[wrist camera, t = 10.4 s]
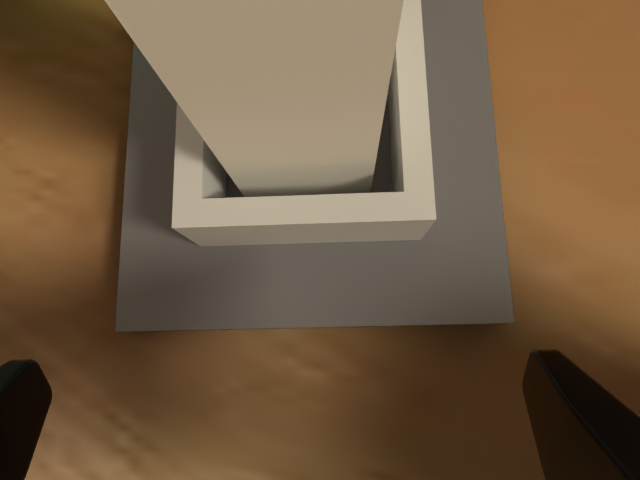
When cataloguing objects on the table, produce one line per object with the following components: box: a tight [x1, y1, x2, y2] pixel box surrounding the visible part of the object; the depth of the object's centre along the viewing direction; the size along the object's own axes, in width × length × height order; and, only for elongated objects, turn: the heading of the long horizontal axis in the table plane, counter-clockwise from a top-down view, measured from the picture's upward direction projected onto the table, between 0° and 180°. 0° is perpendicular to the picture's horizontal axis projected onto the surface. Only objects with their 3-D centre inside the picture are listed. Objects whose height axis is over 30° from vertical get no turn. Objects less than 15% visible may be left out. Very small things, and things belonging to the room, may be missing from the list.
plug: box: [105, 0, 404, 197], centre depth 12 cm, size 5×5×13 cm
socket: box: [115, 0, 515, 332], centre depth 17 cm, size 14×14×4 cm
